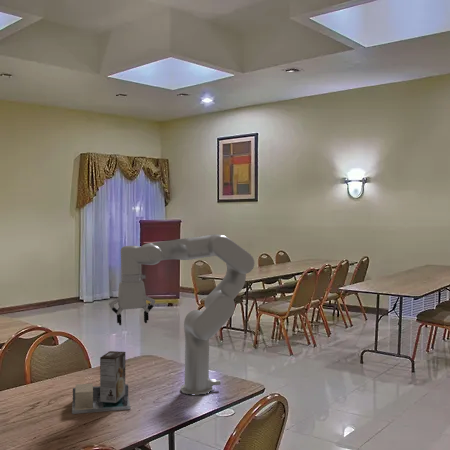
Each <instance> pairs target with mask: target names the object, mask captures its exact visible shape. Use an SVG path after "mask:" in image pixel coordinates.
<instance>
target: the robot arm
mask: <svg viewBox="0 0 450 450" xmlns="http://www.w3.org/2000/svg"><path fill="white" fill-rule="evenodd" d="M211 257H217V258H219V259H220V260H221V261H223V262H224V263H225V266H226V273H225V276H224V277H223V279H222V280H221V281H220V282H219V283H218V284H217V285H216V286H215V287H214V288H213V290H211V292H210V293H209V294H208V295H207V296H206V297H205V299H204V307H205V309H204V310H203V311H202V310H198V309H194V310H190V311H189V312H188V313H187V314H186V316H185V317H184V321H183V323H184V324H183V329H184V384H183V385H181V386H180V392H181V391H182V392H181V393H183V394H185V393H186V394H185V395H188V394H195V395H194V396H200V395H199V394H205V395H207V394H206V393H208V392H210V391H211V390H212V391H213V386H221V380H220V379H219V380H216V378H215V379H213V378H212V379H211V378H210V377H209V376H210V373H209V372H210V339H211V338H212V337H214V336H215V335H216V334H217V333H218V332H219V331H220V330H221V328H222V327H223V326H224V325H225V324H226V323H227V322H228V321H229V319H230V318H231V317H232V316H233V314H234V312H235V309H236V303H235V299H236V297H237V296H238V294H240V293H241V291H242V289H243V288H244V286H245V284H246V280H247V278H246V277H247V274H249V273H251V272H252V271H253V269H254V268H255V259H254V257H253V256H252V254H251V253H249V251H247V250H246V249H244V248H243V247H241V246H240V245H239V244H237V243H236V242H235V241H233V240H232V239H231V238H229V237H227V236H226V235H224V234H209V235H207V234H206V235H201V236H193V237H187V238H186V237H185V238H178V239H172V240H162V241H156V242H148V243H144V244H143V245H141V246H138V245H125V246H124V245H123V246H122V247H121V249H120V265H121V266H120V269H121V270H120V271H121V273H120V274H121V281H120V282H119V284H118V290H117V291H118V296H117V298H116V299H114V300H112V301H110V302H109V303H108V306H109V307H110V309H111V310H112V311H113V312H114V313H115V314H116V323H117V324H118V325H119V326H122V315H121V314H122V312H123V311H124V310H136V309H143V310H144V311H143V322H144V323H145V324H148V321H149V312H150V311H151V310H152V309H153V308H154V305H155V303H156V300H155V299H153V298H151V297H150V296H147V294H146V289H145V288H146V287H145V282H144V281H143V280H144V279H146V274H143V273H142V265H148V266H154V265H157V264H159V263H160V262H161V261H167V260H180V261H190V260H196V259H203V258H211ZM147 301H148V302H150V303H149V305H148V306H147ZM115 304H117V305H118V308H116V307H115ZM210 393H211V392H210ZM208 394H209V393H208Z"/></svg>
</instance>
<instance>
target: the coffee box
mask: <svg viewBox="0 0 450 450" xmlns="http://www.w3.org/2000/svg"><path fill="white" fill-rule="evenodd" d="M99 362H100V363H99V365H100V366H99V372H100V373H99V376H100V377H99V386H100V402H111V403H117V402H118V401H119V400H120V399H121V398H122V397H123V396H124V395H125V384H126V351H117V350H116V351H115V350H111V351H108V352H107V353H104V354H103V355H102V356H100V357H99Z"/></svg>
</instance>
